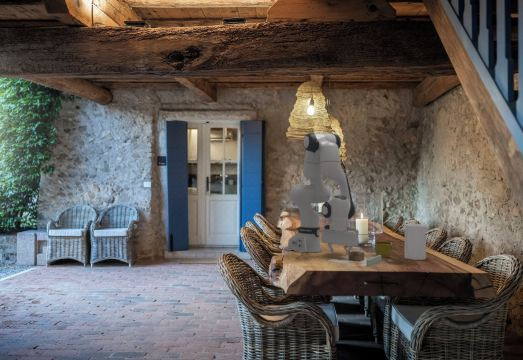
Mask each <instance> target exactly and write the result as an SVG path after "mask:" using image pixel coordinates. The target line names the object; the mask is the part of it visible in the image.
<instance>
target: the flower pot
mask: <svg viewBox="0 0 523 360" xmlns="http://www.w3.org/2000/svg"><path fill="white" fill-rule="evenodd" d="M374 247H375V248H374V250H375V254H376V256H378V255H381V259H383V258H385V259H389V258H390V257H391V255H392V247H393V243H392V242H391V241H379V240H378V241H376V240H375V241H374Z"/></svg>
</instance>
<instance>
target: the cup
mask: <svg viewBox="0 0 523 360" xmlns="http://www.w3.org/2000/svg"><path fill="white" fill-rule="evenodd" d="M403 251H404V254H403V255H404V258H405V259H406V260H410V261H411V260H413V261H424V260H426V258H427V224H422V223H405V224H404V250H403Z"/></svg>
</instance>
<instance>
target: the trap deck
mask: <svg viewBox="0 0 523 360" xmlns="http://www.w3.org/2000/svg"><path fill="white" fill-rule="evenodd" d="M340 257H341V258H345V256H342V255H341V256H340ZM346 258H347V259H335V258H331V259H329V260H327V262H331V263H338V264H339V263H340V264H348V263H350V262H353V263H362V264H360V266H362V267H370V266H373V265H375V264H377V263H380V262H382V257H381V255H378V256H377V255H376V256H373V257H369V258H364V260H363V261H360V262H358V261H350V260H349V256H346Z"/></svg>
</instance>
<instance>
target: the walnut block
mask: <svg viewBox="0 0 523 360" xmlns="http://www.w3.org/2000/svg"><path fill="white" fill-rule="evenodd" d="M348 257H349V258H348V259H349V260H350V261H351V262H352V261H358V262H357V263H360V261H363V260H364V259H365V252H364V251H356V250H352V251H350V252H349V254H348Z"/></svg>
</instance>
